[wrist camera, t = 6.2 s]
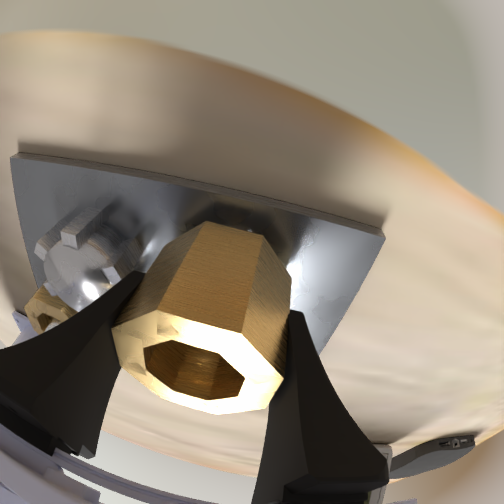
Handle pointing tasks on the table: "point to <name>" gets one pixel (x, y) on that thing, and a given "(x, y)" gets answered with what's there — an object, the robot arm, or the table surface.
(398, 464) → the media streaming box
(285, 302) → the brass octagonal sleeve
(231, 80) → the table surface
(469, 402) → the table surface
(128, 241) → the plate
